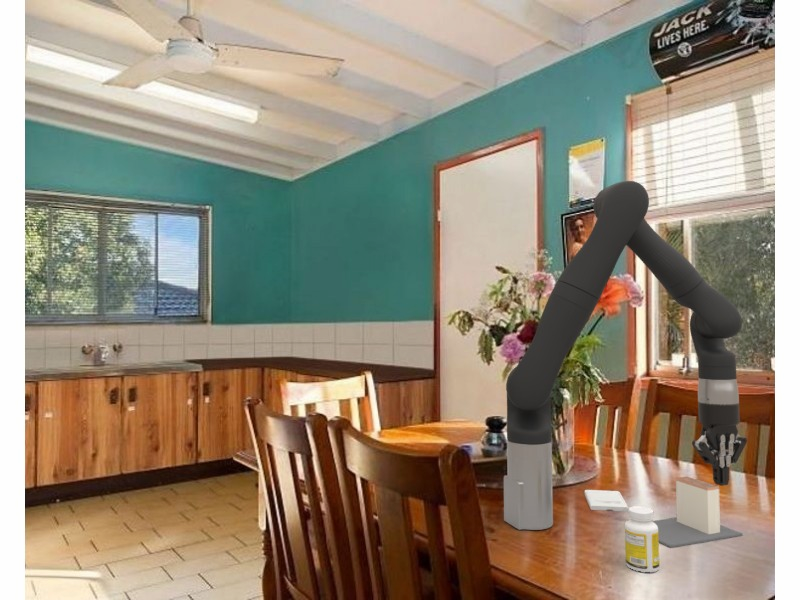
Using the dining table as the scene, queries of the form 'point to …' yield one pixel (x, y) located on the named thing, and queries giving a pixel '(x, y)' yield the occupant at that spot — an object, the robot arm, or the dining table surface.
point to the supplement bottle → (641, 540)
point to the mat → (688, 533)
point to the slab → (698, 504)
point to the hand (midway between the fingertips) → (721, 484)
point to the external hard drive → (606, 500)
